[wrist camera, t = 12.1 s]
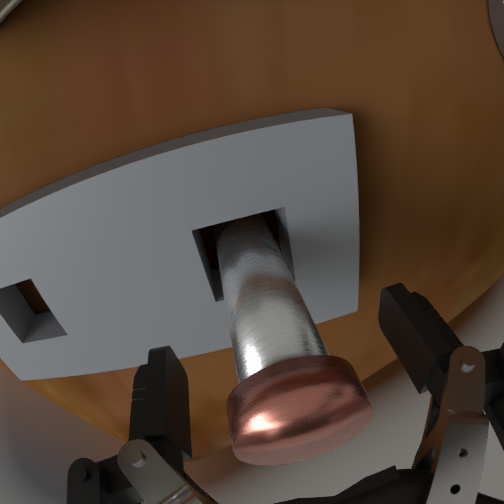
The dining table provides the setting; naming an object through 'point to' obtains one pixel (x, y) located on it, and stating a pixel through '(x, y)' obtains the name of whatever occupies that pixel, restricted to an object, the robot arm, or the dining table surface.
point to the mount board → (174, 242)
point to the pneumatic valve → (7, 7)
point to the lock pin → (280, 358)
